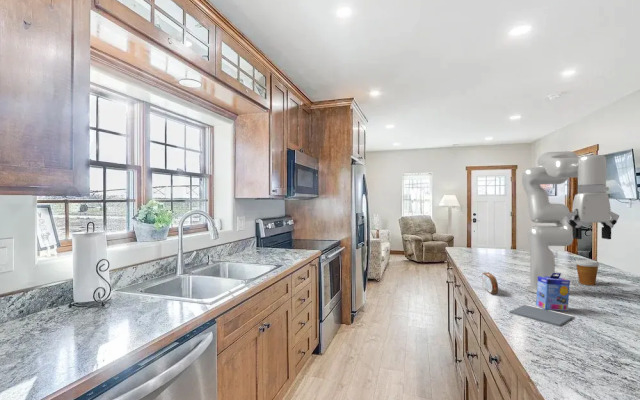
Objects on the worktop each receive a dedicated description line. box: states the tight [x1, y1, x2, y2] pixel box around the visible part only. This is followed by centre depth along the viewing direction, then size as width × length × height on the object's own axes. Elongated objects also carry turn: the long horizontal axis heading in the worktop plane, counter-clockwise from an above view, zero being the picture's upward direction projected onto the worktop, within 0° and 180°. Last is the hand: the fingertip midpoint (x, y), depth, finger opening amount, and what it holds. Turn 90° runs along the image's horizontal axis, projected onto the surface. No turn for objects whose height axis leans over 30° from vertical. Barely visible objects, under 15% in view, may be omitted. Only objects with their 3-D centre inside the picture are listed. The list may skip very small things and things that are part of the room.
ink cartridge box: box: [535, 272, 571, 312], centre depth 124 cm, size 10×6×14 cm, turn 95°
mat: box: [509, 304, 574, 327], centre depth 117 cm, size 14×16×1 cm
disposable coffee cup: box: [574, 259, 600, 286], centre depth 161 cm, size 10×10×12 cm
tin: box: [481, 271, 499, 295], centre depth 149 cm, size 15×3×8 cm, turn 168°
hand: (591, 238), depth 109 cm, fingers open, 9 cm apart
